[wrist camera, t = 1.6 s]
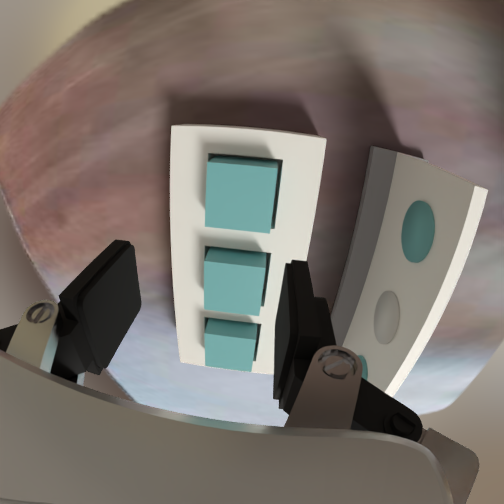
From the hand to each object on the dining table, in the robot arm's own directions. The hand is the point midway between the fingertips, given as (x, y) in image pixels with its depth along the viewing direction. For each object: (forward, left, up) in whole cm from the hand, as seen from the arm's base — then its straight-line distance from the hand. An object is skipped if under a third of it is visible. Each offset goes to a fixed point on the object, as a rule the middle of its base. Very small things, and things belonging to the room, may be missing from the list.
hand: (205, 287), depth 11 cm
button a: (0, 0, -15) cm, 15 cm away
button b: (0, +8, -15) cm, 17 cm away
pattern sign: (-14, +8, -18) cm, 24 cm away
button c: (0, +16, -15) cm, 22 cm away
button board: (0, +8, -18) cm, 19 cm away
